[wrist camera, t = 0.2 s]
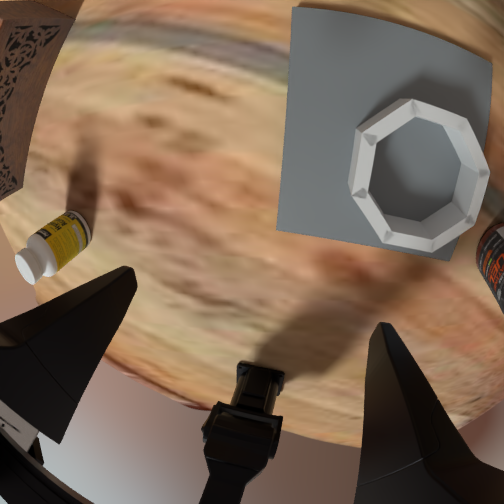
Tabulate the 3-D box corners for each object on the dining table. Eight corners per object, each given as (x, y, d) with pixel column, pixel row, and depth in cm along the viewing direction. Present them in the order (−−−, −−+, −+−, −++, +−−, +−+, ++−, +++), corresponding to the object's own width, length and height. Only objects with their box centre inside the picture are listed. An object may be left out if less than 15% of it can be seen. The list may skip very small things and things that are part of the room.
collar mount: (445, 255, 21) (460, 281, 17) (277, 224, 23) (269, 248, 20) (486, 64, 11) (512, 62, 8) (293, 10, 14) (286, -8, 10)
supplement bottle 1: (83, 206, 28) (23, 248, 20) (97, 246, 31) (45, 293, 22) (60, 211, 29) (6, 249, 21) (73, 246, 32) (26, 288, 24)
